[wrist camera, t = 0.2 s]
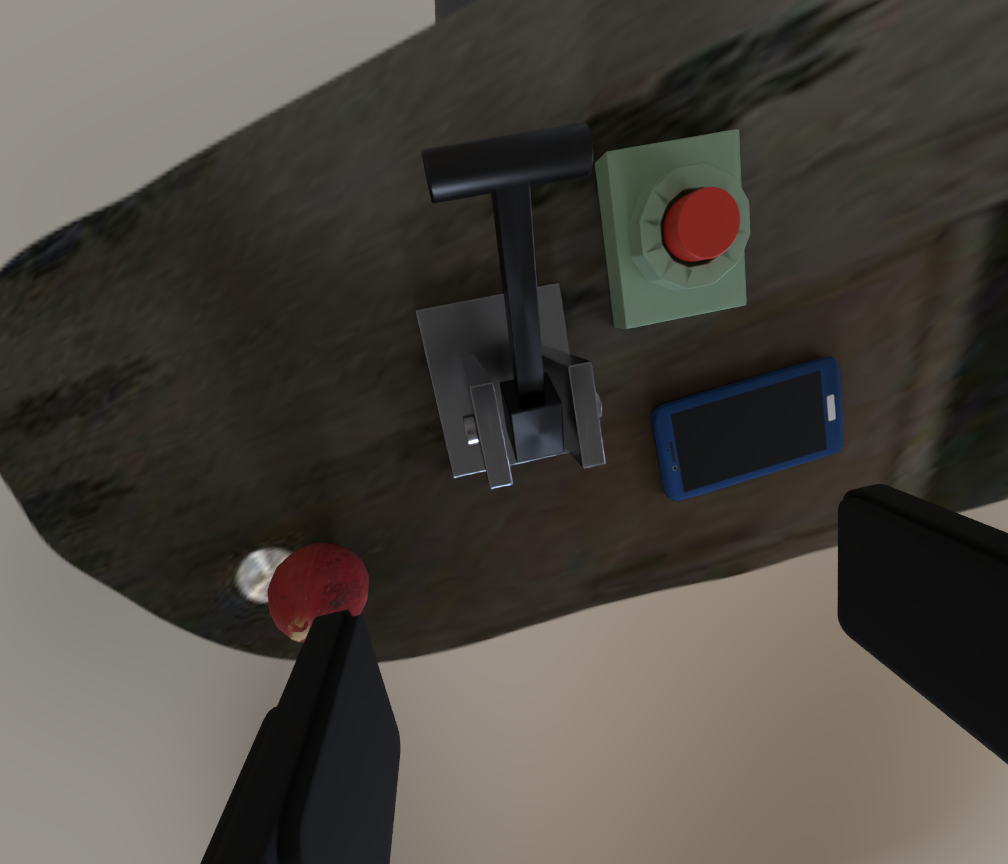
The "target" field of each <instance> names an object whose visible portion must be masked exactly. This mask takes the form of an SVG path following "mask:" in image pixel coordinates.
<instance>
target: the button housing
mask: <svg viewBox="0 0 1008 864" xmlns="http://www.w3.org/2000/svg"><path fill="white" fill-rule="evenodd" d="M595 169H596V178H597V186H598V195H599V203H600V211H601V220H602V228H603V237H604V245H605V253H606V262H607V270H608V279H609V287H610V295H611V304H612V312H613V321H614V327H615V328H623V329H629V328H634V327H639V326H644V325H649V324H654V323H659V322H664V321H669V320H674V319H679V318H684V317H688V316H693V315H698V314H703V313H708V312H713V311H718V310H723V309H728V308H733V307H738V306H743V305H746V281H745V259H744V248H745V245H746V243H747V241H748V238H749V236H750V214H749V202H748V201H749V200H748V198H747V197H746V195H745V193H744V192H743V190H742V188H741V168H740V145H739V129H735V130H729V131H723V132H718V133H712V134H706V135H700V136H694V137H689V138H683V139H677V140H671V141H665V142H660V143H654V144H648V145H642V146H636V147H631V148H625V149H619V150H613V151H607V152H606V153H605V154H604V155H603V156H602V157H601V158H600V159H599V160H598V161H597V162H596V163H595ZM704 187H718V188H721V189H723V190H725V191H727V192H728V193H729V194H731V196H732V197H733V198H734V199H735V201H736V203H737V205H738V208H739V212H740V227H739V231H738V234H737V237H736V239H735V240H734V242H733V244H732V245H731V246H730V247H729V248H728V249H727V250H726V251H725V252H724V253H722V254H721V255H719V256H717V257H714V258H711V259H705V260H700V261H694V262H687V261H683V260H680V259H678V258H677V257H675V256H674V255H673V254H672V253H671V252H670V251H669V249H668V248H667V246H666V243H665V240H664V235H663V226H664V221H665V218H666V215H667V213H668V211H669V209H670V208H671V207H672V205H673V204H674V203H675V202H676V201H677V200H679V199H680V198H682V197H684V196H686V195H688V194H690V193H692V192H694V191H696V190H699V189H701V188H704Z"/></svg>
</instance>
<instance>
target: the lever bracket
mask: <svg viewBox="0 0 1008 864" xmlns="http://www.w3.org/2000/svg"><path fill="white" fill-rule="evenodd" d="M537 289H538V303H539V317H540V332H541V346H542V360H543V373H548V375H549V377H550V379H551V381H552V383H553V385H554V387H555V389H556V391H557V393H558V395H559V397H560V399H561V401H562V407H563V431H564V452H563V453H558V454H553V455H549V456H544V457H540V458H535V459H530V460H526V461H521V462H517V461H516V459H515V456H514V453H513V449H512V446H511V443H510V440H509V436H508V433H507V430H506V424H505V417H504V410H503V403H502V396H501V390H500V382H503V381H507V380H512V379H514V378H513V369H512V361H511V353H510V344H509V336H508V328H507V320H506V311H505V303H504V295H503V293H502V294H497V295H491V296H486V297H481V298H476V299H471V300H465V301H460V302H455V303H450V304H444V305H439V306H434V307H429V308H424V309H418V310H416V316H417V320H418V325H419V329H420V333H421V338H422V342H423V347H424V351H425V355H426V360H427V364H428V368H429V373H430V377H431V382H432V386H433V390H434V395H435V399H436V403H437V408H438V412H439V416H440V421H441V425H442V430H443V434H444V438H445V443H446V447H447V451H448V456H449V460H450V464H451V469H452V473H453V477H454V478H456V477H460V476H465V475H470V474H474V473H479V472H483V471H485V472H486V476H487V479H488V483H489V487H490V488H491V489H493V488H497V487H502V486H506V485H511V484H513V479H512V474H511V469H510V466H511V465H515V464H520V463H524V462H529V461H534V460H538V459H543V458H547V457H552V456H556V455H561V454H566V453H570V454H571V455H572V456H573V457H574V458H575V459H576V461H577V462H578V463H579V464H580V465H581V466H582V467H583V468H588V467H593V466H597V465H602V464H605V456H604V448H603V441H602V433H601V426H600V418H601V417H602V403H601V399H600V396H599V394H598V392H597V390H596V389H595V381H594V374H593V366H592V362H591V361H588V360H585V359H582V358H580V357H577V356H574V355H571V354H570V351H569V344H568V337H567V330H566V323H565V317H564V310H563V303H562V296H561V289H560V284H559V283H554V284H549V285H544V286H538V287H537Z"/></svg>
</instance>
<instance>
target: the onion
mask: <svg viewBox="0 0 1008 864" xmlns="http://www.w3.org/2000/svg"><path fill="white" fill-rule="evenodd" d="M368 586H369V575H368V573H367V570H366V568H365V565H364V563H363V561H362V560H361V559H360V558H359V557H358V556H357V555H356V554H355V553H353V552H352V551H351V550H350V549H349V548H346V547H342V546H339V545H335V544H332V543H313V544H310V545H308V546H305V547H302V548H299V549H297V550H295V551H294V552H293V553H292V554H291V555H290V556H289V557H287V558H286V559H285V560H284V561H283V562H282V563H281V564H280V565H279V566H278V567H277V568H276V571H275V573H274V575H273V577H272V579H271V582H270V584H269V588H268V603H269V612H270V614H271V616H272V618H273V620H274V622H275V624H276V626H277V628H278V629H280V630H281V631H282V632H284V633H285V634H286V635H288V636H289V637H290V639H293V640H296V641H298V642H303V643H304V641H305V639H306V636H307V634H308V632H309V629H310V627H311V624H312V622H313V620H314V619H315V617H317V616H321V615H325V614H329V613H334V612H338V611H342V610H346V609H348V610H350V612H351V613H352V615H353V616H357V615H360V613H361V611H362V610H363V608H364V606H365V604H366V602H367V596H368Z"/></svg>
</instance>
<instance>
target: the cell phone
mask: <svg viewBox="0 0 1008 864" xmlns="http://www.w3.org/2000/svg"><path fill="white" fill-rule="evenodd" d="M652 425H653V431H654V436H655V442H656V447H657V452H658V458H659V463H660V469H661V474H662V480H663V485H664V490H665V493H666V495H667V496H668V498H670V499H672V500H676V501H679V500H684V499H688V498H691V497H695V496H698V495H701V494H705V493H708V492H711V491H714V490H718V489H721V488H724V487H727V486H731V485H734V484H737V483H740V482H744V481H747V480H750V479H753V478H757V477H760V476H763V475H766V474H770V473H773V472H776V471H779V470H783V469H786V468H789V467H792V466H796V465H799V464H802V463H805V462H809V461H812V460H815V459H818V458H822V457H825V456H828V455H831V454H834V453H836V452H839V451H840V450H841V449H842V447H843V443H844V429H843V414H842V399H841V385H840V370H839V365H838V361H837V360H836V359H835V358H832V357H824V358H817V359H814V360H811V361H807V362H804V363H800V364H797V365H794V366H790V367H787V368H783V369H780V370H777V371H773V372H770V373H766V374H763V375H760V376H756V377H753V378H749V379H746V380H743V381H739V382H736V383H732V384H729V385H726V386H722V387H719V388H715V389H712V390H709V391H705V392H702V393H698V394H695V395H692V396H688V397H685V398H681V399H678V400H675V401H671V402H668V403H665V404H663V405H660V406H658V407H656V408H655V409H654V410H653V412H652Z"/></svg>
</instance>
